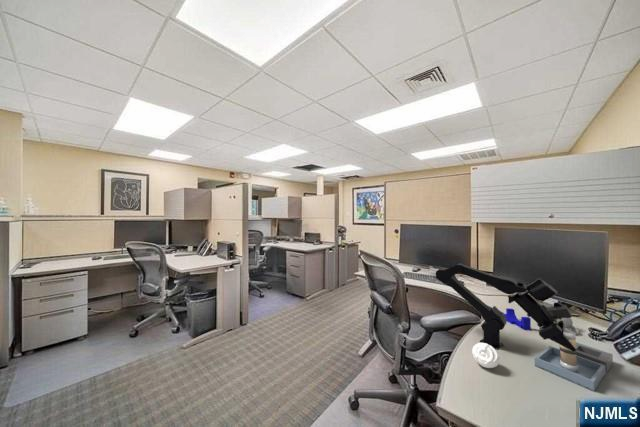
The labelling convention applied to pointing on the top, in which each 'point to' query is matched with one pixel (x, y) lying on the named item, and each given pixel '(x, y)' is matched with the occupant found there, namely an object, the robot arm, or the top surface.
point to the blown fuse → (569, 353)
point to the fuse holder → (595, 355)
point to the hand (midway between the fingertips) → (574, 347)
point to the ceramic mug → (568, 324)
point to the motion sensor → (485, 355)
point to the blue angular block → (512, 319)
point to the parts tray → (585, 377)
